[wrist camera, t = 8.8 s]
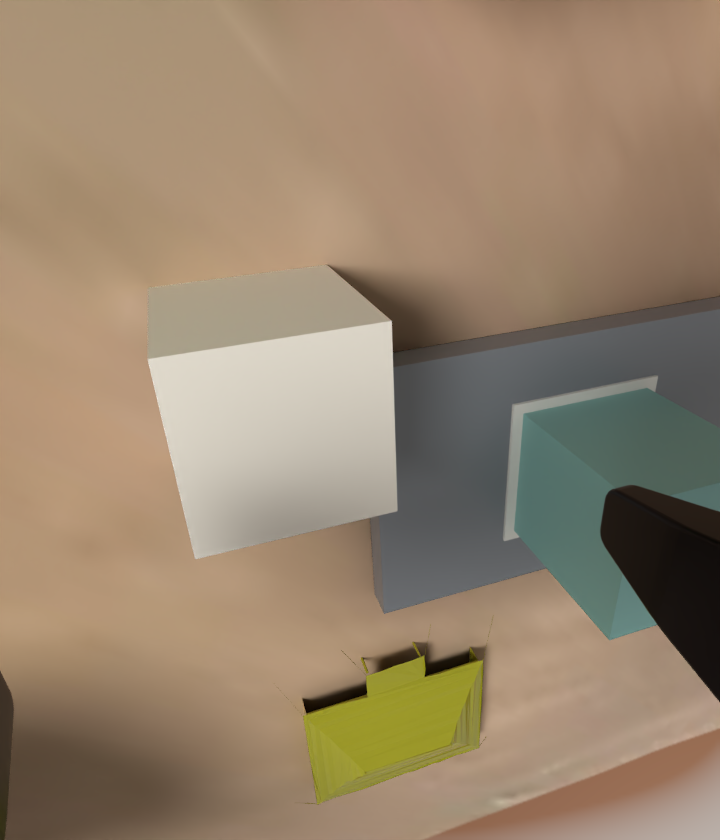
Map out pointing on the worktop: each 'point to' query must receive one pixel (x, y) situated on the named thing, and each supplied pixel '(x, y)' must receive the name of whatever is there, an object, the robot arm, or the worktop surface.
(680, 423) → the teal block
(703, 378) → the slate plate
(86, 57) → the worktop surface
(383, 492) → the cream block
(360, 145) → the worktop surface
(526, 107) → the worktop surface
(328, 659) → the worktop surface
